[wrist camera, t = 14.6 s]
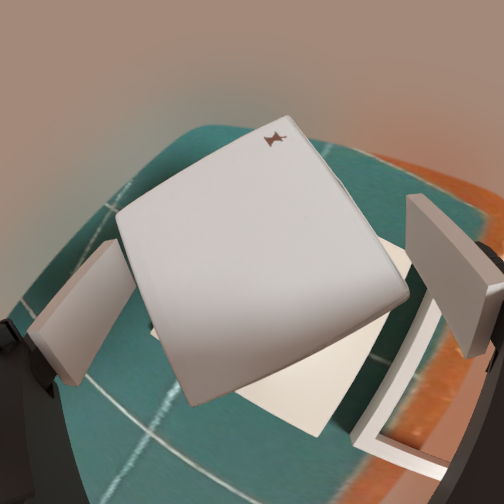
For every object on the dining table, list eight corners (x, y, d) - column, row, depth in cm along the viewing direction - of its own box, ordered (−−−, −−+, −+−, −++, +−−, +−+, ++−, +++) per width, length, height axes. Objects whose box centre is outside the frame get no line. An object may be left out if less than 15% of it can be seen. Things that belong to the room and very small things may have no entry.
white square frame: (349, 434, 18) (352, 445, 16) (438, 258, 20) (451, 249, 18) (483, 486, 14) (496, 496, 12) (555, 331, 16) (572, 329, 14)
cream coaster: (155, 333, 23) (150, 333, 22) (246, 179, 25) (244, 174, 24) (317, 434, 19) (317, 437, 18) (411, 258, 21) (414, 255, 20)
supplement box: (213, 277, 22) (107, 208, 11) (306, 227, 22) (290, 104, 10) (260, 373, 20) (184, 414, 8) (360, 320, 20) (420, 292, 8)
